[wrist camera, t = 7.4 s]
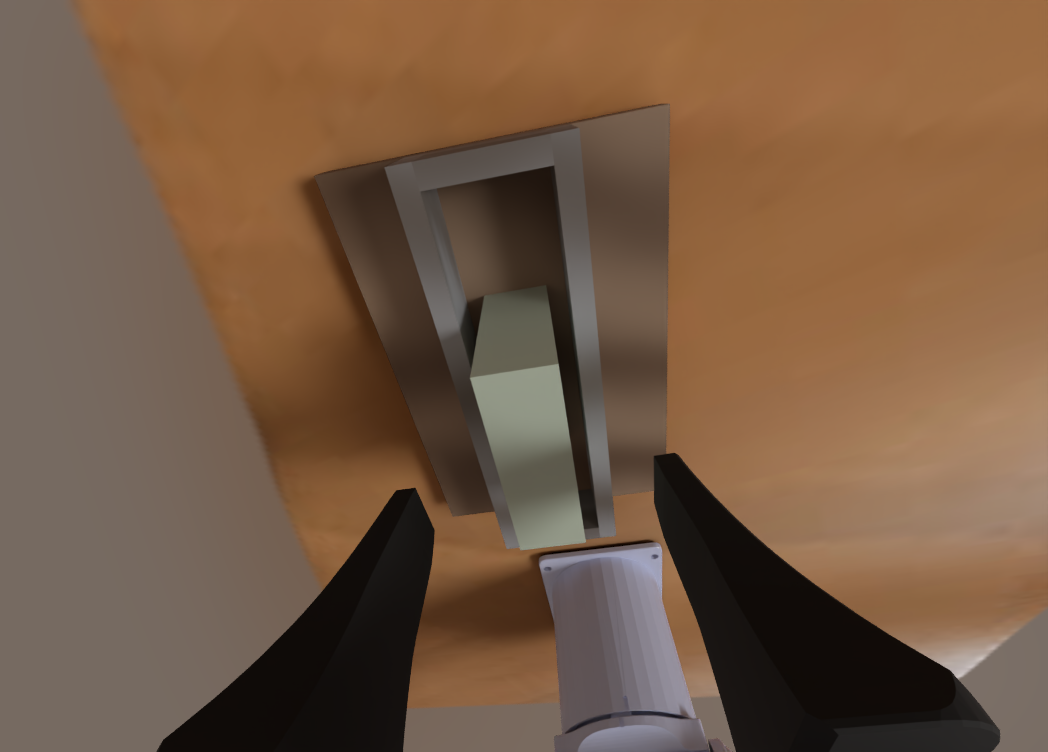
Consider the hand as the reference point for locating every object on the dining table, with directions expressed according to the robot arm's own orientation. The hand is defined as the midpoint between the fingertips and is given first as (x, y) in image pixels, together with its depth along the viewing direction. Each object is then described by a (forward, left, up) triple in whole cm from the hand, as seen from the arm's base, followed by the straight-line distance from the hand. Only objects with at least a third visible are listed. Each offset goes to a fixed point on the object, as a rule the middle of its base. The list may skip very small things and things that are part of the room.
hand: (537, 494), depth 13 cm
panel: (0, 0, -7) cm, 7 cm away
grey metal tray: (0, 0, -8) cm, 8 cm away
